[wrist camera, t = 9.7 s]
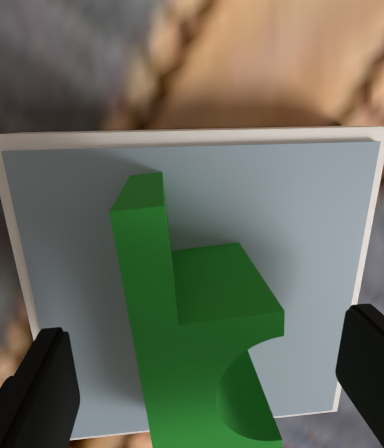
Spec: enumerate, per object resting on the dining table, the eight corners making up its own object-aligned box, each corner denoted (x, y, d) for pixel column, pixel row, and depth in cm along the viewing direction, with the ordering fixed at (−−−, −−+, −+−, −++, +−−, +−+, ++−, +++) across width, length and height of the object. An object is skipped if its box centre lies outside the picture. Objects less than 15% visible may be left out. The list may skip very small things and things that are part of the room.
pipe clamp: (244, 398, 14) (281, 520, 10) (166, 410, 14) (169, 540, 10) (236, 162, 10) (289, 193, 6) (129, 173, 10) (106, 213, 6)
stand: (74, 388, 17) (54, 448, 14) (25, 132, 12) (-20, 135, 9) (309, 366, 18) (340, 416, 15) (343, 125, 14) (396, 126, 11)
